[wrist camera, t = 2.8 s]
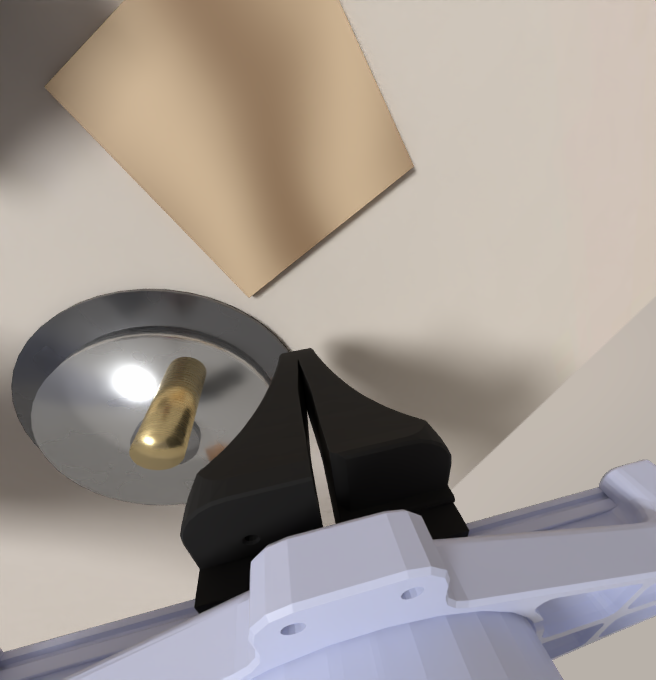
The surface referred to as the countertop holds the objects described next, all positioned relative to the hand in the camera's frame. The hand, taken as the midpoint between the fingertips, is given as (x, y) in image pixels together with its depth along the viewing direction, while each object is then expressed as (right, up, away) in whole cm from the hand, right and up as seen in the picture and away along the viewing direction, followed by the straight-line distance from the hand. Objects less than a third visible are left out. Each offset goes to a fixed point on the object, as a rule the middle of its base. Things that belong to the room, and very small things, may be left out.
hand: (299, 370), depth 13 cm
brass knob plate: (-7, -3, +4) cm, 8 cm away
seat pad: (-1, +9, -1) cm, 9 cm away
